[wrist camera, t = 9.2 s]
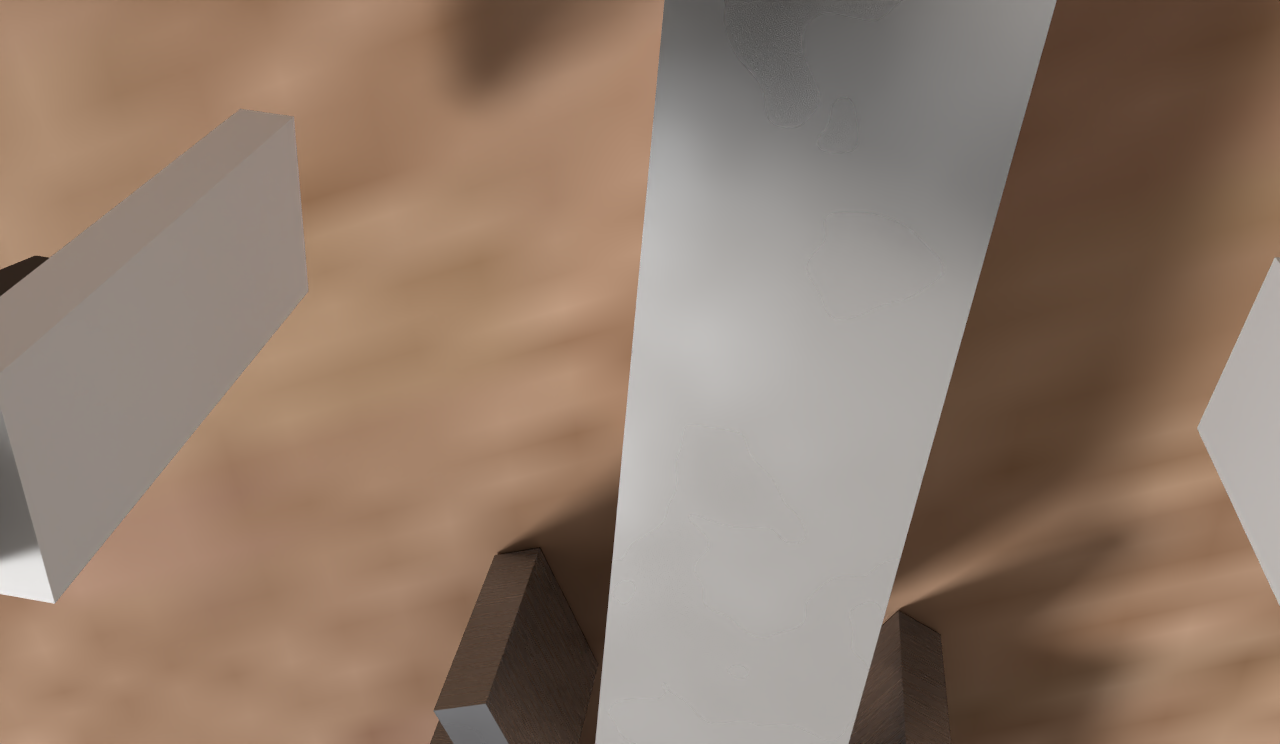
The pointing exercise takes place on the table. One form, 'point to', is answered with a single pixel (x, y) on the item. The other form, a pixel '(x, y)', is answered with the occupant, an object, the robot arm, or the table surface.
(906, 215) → the link bar
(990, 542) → the table surface
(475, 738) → the dark grey blocks
